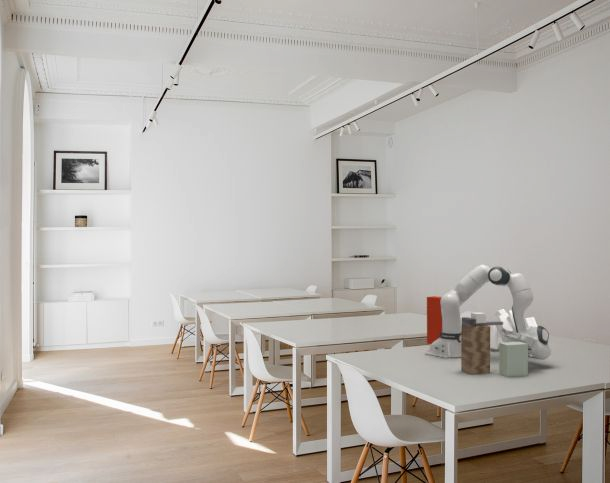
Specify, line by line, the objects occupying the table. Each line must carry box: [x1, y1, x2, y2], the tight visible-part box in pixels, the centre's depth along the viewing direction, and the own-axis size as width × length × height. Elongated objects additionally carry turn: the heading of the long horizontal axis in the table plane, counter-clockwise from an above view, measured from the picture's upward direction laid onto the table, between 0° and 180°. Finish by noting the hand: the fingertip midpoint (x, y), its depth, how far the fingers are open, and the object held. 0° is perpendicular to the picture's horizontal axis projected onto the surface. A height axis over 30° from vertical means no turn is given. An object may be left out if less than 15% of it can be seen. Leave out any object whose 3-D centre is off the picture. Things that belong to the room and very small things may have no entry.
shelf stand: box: [460, 316, 491, 375], centre depth 313 cm, size 12×9×29 cm
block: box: [498, 342, 529, 378], centre depth 306 cm, size 12×7×16 cm, turn 106°
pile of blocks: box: [488, 308, 538, 358], centre depth 367 cm, size 35×30×35 cm
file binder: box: [426, 295, 442, 345], centre depth 393 cm, size 8×17×32 cm, turn 36°
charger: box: [470, 311, 503, 326], centre depth 315 cm, size 17×5×7 cm, turn 106°
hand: (507, 330), depth 318 cm, fingers open, 8 cm apart
